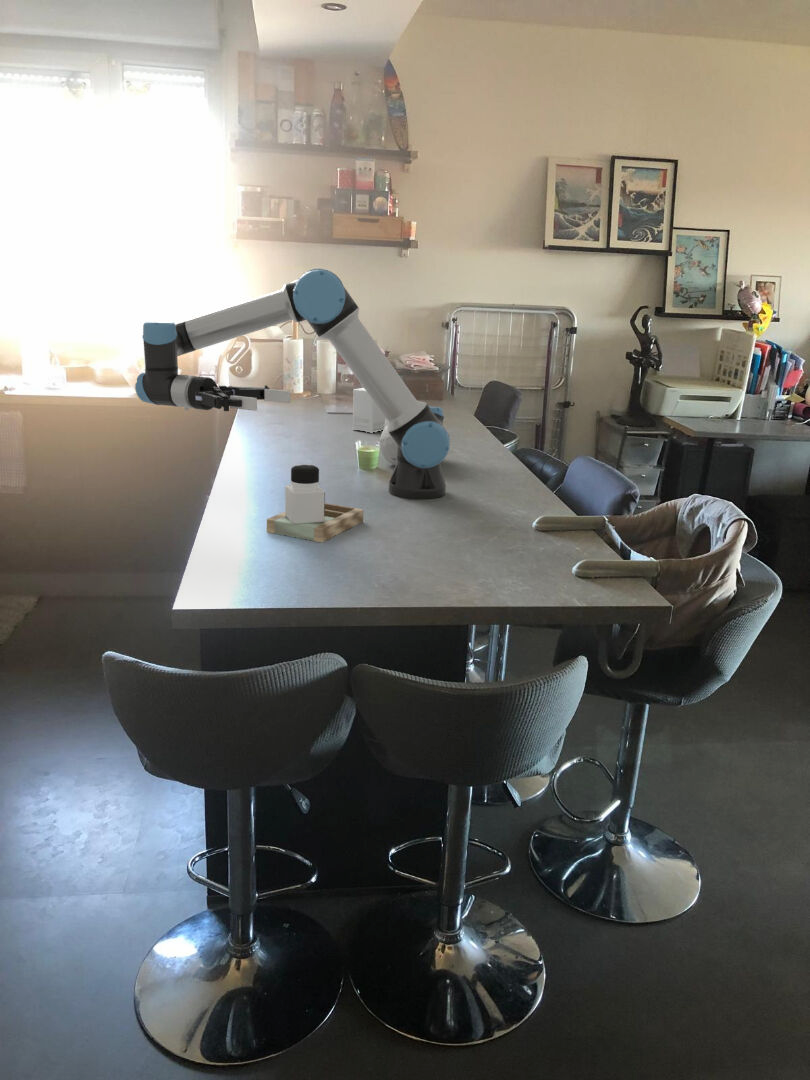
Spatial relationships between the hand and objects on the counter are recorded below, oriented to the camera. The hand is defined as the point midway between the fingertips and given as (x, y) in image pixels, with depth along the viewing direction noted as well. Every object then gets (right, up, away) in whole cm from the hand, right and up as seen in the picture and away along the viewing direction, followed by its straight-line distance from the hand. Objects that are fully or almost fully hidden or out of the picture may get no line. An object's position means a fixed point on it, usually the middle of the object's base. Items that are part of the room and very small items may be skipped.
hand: (273, 400), depth 194 cm
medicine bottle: (+7, -27, -3) cm, 28 cm away
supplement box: (+16, +8, +121) cm, 122 cm away
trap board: (+9, -28, +2) cm, 30 cm away
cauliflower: (+31, -8, +72) cm, 79 cm away
